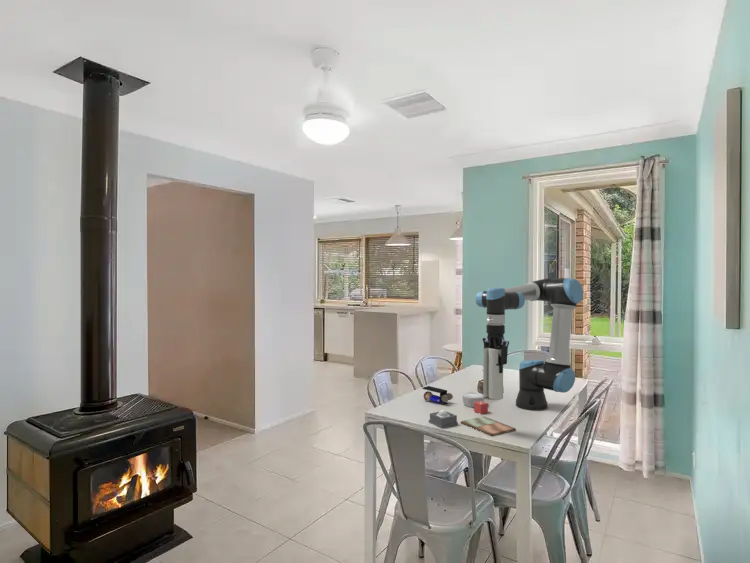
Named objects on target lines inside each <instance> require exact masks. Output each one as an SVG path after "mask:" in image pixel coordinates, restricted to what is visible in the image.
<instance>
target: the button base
mask: <svg viewBox="0 0 750 563" xmlns="http://www.w3.org/2000/svg"><path fill="white" fill-rule="evenodd" d="M438 413H439V411H434V412H430V413H429V419H428V423H430V424H431V425H434V426H436V427H438V428H440V429H444V428H449V427H453V426H458V425H459V422H458V416H457V414H454V413H451V412H449V411H447V413H448V414H450V416H448V417H443V418H441V417H439V416H437V415H436V414H438Z"/></svg>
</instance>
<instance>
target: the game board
mask: <svg viewBox="0 0 750 563" xmlns="http://www.w3.org/2000/svg"><path fill="white" fill-rule="evenodd" d="M460 424H461V425H463V426H466V425H467V426H466V427H469V428H471V427H472V428H471V429H473V428H474V430H475V429H477V430H476V431H478V432H480V431H481V432H480V433H482V432H483V434H485V435H486V436H487V435H488V436H490V437H494V436H498V435H502V434H507V433H510V432H511V433H512V432H515V431H517V429H516V427H513V426H510V425H507V424H505V423H503V422H500V421H497V420H495V419H492V418H489V417H486V416H479V417H475V418H474V417H473V418H470V419H464V420H460Z"/></svg>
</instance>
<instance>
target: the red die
mask: <svg viewBox="0 0 750 563" xmlns="http://www.w3.org/2000/svg"><path fill="white" fill-rule="evenodd" d="M488 405H489V402H485V401H484V402H482V401H479V402H474V408H473V411H475V412H474V413H476V412H477V414H479V413H480V414H479V415H484V414H488V413H489V406H488ZM483 413H484V414H483Z"/></svg>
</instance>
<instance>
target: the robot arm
mask: <svg viewBox="0 0 750 563" xmlns="http://www.w3.org/2000/svg"><path fill="white" fill-rule="evenodd" d="M583 297H584V290H583V286H582V285H581V283H580V281H579V280H577V279H575V278H569V277H568V278H567V277H564V278H563V277H562V278H556V277H555V278H554V277H553V278H551V277H550V278H541V279H538V280H533V281H528V282H527V283H525V284H523V285H518V286H511V287H506V288H505V287H504V288H503V287H488V288H487V290H482V291H481V290H480V291H478V292H477V293H476V295H475V304H476V305H477V306H478V307H480V308H484V309H485V308H486V323H487V324H486V331H485V332H486V334H487V336H486V337H483V338H482V342H483V348H494V349H497V350H500V349H501V356H500V355H499V353H498V364H496V365H497V366H499V373H503V374H504V365H507V363H508V350H509V345H510V341H508V340H506V339H505V336H504V334H505V333H506V331H505V330H506V326H505V324H506V316H505V315H506V310H518V309H522V308H523V307H524V306H525V301H530V302H536V301H539V302H541V301H543V302H550V307H551V308H552V309H553V310H552V320H551V331H550V337H549V338H550V339H549V349H548V350H549V351H548V358H546V359H545V360H543V359H525V360H521V361H520V362H519V369H518V371H519V378H518V382H519V383H518V384H519V389H518V393H517V396H516V399H515V406H516V407H518V408H519V409H523V410H529V411H543V410H547V409H548V408H549V406H548V401H547V398H546V395H545V390H549V391H553V392H555V393H567V392H569V391H570V390H571V389H572V388H573V386H574V384H575V382H576V374H575V370H573V369H572V368H571V367H572V366H571V363H570V362H569V352H570V344H571V343H570V342H571V333H572V332H571V329H572V321H573V320H572V319H573V311H574V310H575V309H577V305H578V304H579V303H581V302H582V300H583Z"/></svg>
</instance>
